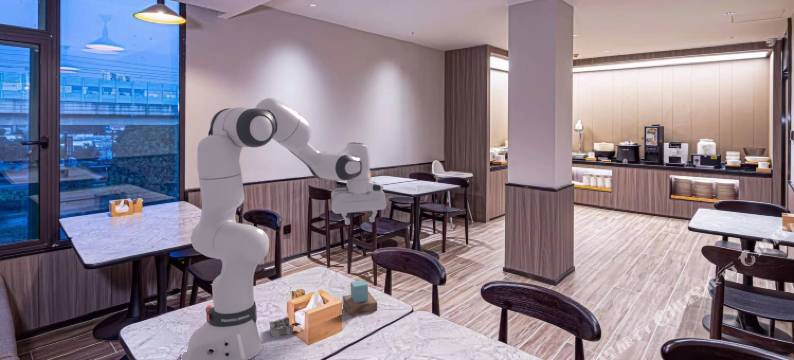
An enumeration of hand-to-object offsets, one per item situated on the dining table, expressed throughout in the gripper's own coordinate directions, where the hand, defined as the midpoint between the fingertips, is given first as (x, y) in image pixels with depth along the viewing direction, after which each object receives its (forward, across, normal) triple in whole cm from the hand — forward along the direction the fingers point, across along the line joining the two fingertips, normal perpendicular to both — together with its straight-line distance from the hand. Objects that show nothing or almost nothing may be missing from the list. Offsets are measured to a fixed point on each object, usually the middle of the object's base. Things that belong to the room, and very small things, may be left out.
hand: (359, 223), depth 163 cm
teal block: (+26, -3, -8) cm, 27 cm away
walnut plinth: (+29, -3, -8) cm, 30 cm away
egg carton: (+30, -30, -16) cm, 45 cm away
